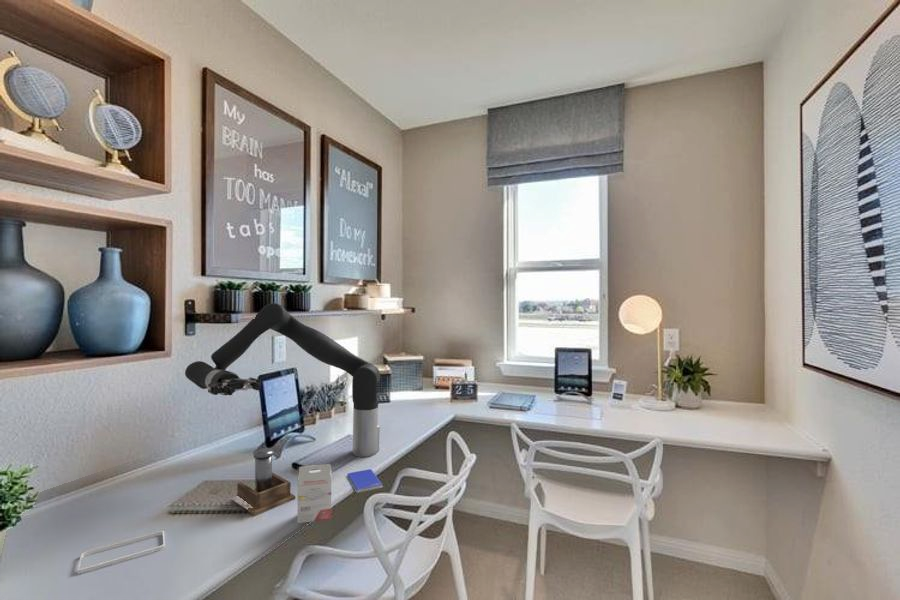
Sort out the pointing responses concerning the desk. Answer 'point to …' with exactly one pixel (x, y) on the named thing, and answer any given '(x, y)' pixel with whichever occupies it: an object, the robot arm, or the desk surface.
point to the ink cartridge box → (314, 493)
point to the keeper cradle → (266, 495)
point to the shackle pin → (263, 469)
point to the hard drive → (364, 480)
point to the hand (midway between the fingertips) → (245, 389)
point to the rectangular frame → (118, 546)
